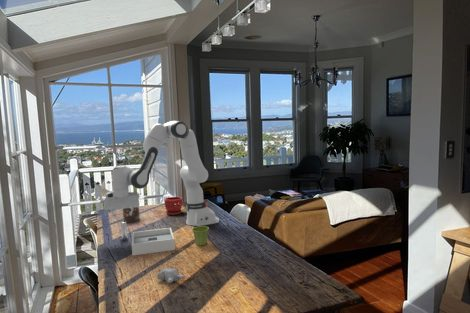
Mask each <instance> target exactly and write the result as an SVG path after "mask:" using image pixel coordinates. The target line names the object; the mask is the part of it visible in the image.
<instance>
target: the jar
mask: <svg viewBox="0 0 470 313" xmlns="http://www.w3.org/2000/svg"><path fill="white" fill-rule="evenodd" d="M121 210H122V220H123V221H122V222H124V221H125V222H126V223H133V222H137V220H138V221H139V220H140V219H141V218H140V217H141V216H140V206H139V207H135V208H134V209H133V211H132V215H129V212H131V208H124V209H121Z"/></svg>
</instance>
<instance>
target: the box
mask: <svg viewBox="0 0 470 313" xmlns="http://www.w3.org/2000/svg"><path fill="white" fill-rule="evenodd" d="M175 246H176V245H175V237H174V234H173V230H172V227H166V228H156V229H148V230H147V229H146V230H142V231H141V230H139V231H132V234H131V252H132V253H131V254H132V255H133V256H137V255H145V254H146V255H148V254H154V253H155V254H156V253H160V252H168V251H175V249H176V247H175Z"/></svg>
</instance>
